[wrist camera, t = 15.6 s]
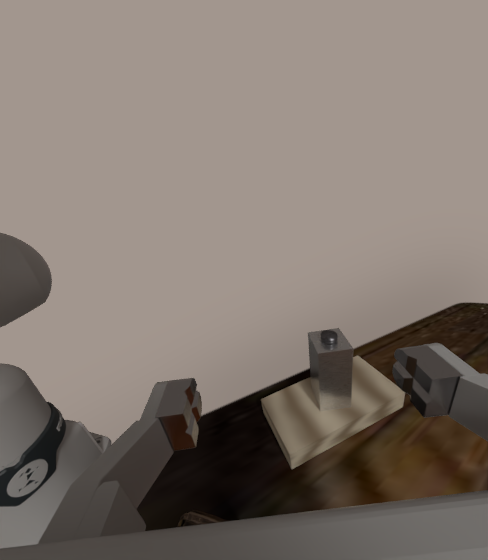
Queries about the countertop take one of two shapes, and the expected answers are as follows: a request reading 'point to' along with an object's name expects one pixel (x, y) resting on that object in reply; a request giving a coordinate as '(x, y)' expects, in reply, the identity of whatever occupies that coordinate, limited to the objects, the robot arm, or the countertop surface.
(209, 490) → the countertop surface
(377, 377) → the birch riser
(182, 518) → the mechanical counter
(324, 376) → the aluminium block
